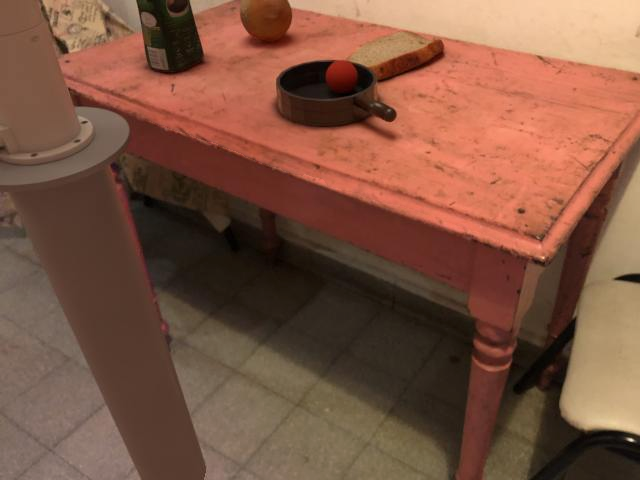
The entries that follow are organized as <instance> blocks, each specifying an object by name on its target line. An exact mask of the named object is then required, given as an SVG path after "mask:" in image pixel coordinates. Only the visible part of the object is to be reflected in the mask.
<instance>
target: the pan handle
mask: <svg viewBox="0 0 640 480" xmlns="http://www.w3.org/2000/svg"><path fill="white" fill-rule="evenodd" d="M354 102H355V105H356V106H357V107H358V108H360V109H362V110H364V111H366V112H368V113H370V115H372V116H375V117H376V118H378V119H380V120H383V121H385V122H386V123H394V121H395V120H396V119H397V118H398V117H397V116H398V113H397V112H398V111H397V110H396V109H395V108H393V107H392V106H390V105H387V104H385V103H383V102H381V101H380V100H378V99H377V100H375V99H373V98H371V97H369V96H367V95H365V94H358V95H357V96H356V98H355V101H354Z"/></svg>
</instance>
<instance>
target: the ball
mask: <svg viewBox="0 0 640 480" xmlns="http://www.w3.org/2000/svg"><path fill="white" fill-rule="evenodd" d="M338 60H339V59H338ZM357 81H358V74H357V70H356V68H355V67H354V66H353V65H352V64H351V63H350V62H348V61H347V60H345V59H344V60H343V59H340V60H339V61H336V62H334V63H332V64H331V65H330V66H329V68H328V69H327V72H326V82H327V85H328V86H329V88H330V89H331V90H332V91H334V92H336V93H339V94H345V93H348V92H350V91H351V90H353V89H354V87H355V86H356V84H357Z"/></svg>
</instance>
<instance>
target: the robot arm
mask: <svg viewBox="0 0 640 480" xmlns="http://www.w3.org/2000/svg"><path fill="white" fill-rule="evenodd" d="M74 107H75V105H74V103H73V99H72V95H71V94H70V91H69V88H68V85H67V82H66V79H65V76H64V73H63V70H62V67H61V64H60V61H59V59H58V55H57V53H56V50H55V47H54V44H53V41H52V38H51V35H50V32H49V29H48V26H47V23H46V20H45V18H44V15H43V13H42V9H41V6H40V3H39V0H0V160H2V161H4V162H7V163H10V164H16V165H37V164H44V163H49V162H53V161H58V160H61V159H64V158H67V157H69V156H71V155H74V154H76V153H77V152H79V151H81V150H83V149H84V148H85V147H87V146H88V145H89V144H90V143H91V142H92V140H93V138H94V137H95V130H94V127H93V125H92V123H91V122H90V121H89V120H88V119H86V118H83V117H81V116H77V114H76V111H75V108H74Z"/></svg>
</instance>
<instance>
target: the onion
mask: <svg viewBox="0 0 640 480" xmlns="http://www.w3.org/2000/svg"><path fill="white" fill-rule="evenodd" d="M239 19H240V22H241V24H242V26H243V28H244V29H245V31H246V33H248V35H249V36H250V37H252V38H253V39H256V40H260V41H264V42H271V43H273V42H277V41H278V40H279V39H280V38H282V37H283V36H284V35H285V34H286V33H287V32H288V31H289V29H290V27H291V25H292V21H293V10H292V7H291V4H290V1H289V0H241V3H240V6H239Z"/></svg>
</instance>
